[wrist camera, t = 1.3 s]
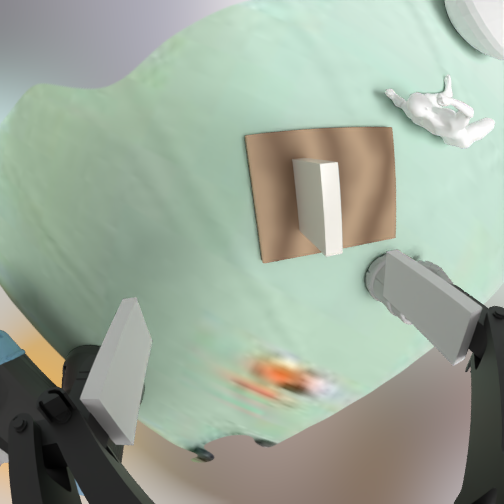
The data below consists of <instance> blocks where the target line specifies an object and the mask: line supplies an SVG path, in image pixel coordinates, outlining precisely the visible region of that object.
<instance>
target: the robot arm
mask: <svg viewBox="0 0 504 504" xmlns="http://www.w3.org/2000/svg"><path fill="white" fill-rule="evenodd" d="M383 296H384V297H385V298H386V299H387V300H388V301H389V302H390V303H391V304H392V305H393V306H394V307H395V308H396V309H397V310H398V311H399V312H400V313H402V314H403V315H404V316H405V317H406V318H407V319H408V320H409V321H410V322H411V323H412V324H413V325H414V326H415V327H416V328H417V329H418V330H419V331H420V332H421V333H422V334H423V335H424V336H425V337H426V338H427V339H428V340H429V341H430V342H431V343H432V344H433V345H434V346H435V347H436V348H437V349H438V350H439V351H440V352H441V353H442V354H443V356H444V357H445V358H446V359H447V360H448V361H449V362H450V363H451V364H452V365H455V364H457V363H459V362H461V361H462V360H464V359H465V356H466V354H467V351H468V349H470V350H471V351H472V352H473V353H472V356H471V358H470V360H469V363H468V365H467V367H466V371H465V372H467V371H468V369H469V367H471V371H470V372H471V386H472V388H471V389H472V395H471V425H470V437H469V447H468V455H467V463H466V469H465V475H464V481H463V485H462V489H461V492H460V494H459V495H458V497H457V498H456V500H455V502H454V504H504V308H502V307H498V306H493V307H490V308H489V309H488V308H487V307H486V306H484V305H483V304H482V303H480V302H479V301H477V300H476V299H475V298H473V297H472V296H469V294H468V293H466V292H464V290H462V289H461V288H459V287H458V286H456V285H453V284H451V283H448V282H446V281H445V280H444V279H442V278H441V277H439V276H438V275H436V274H435V273H433V272H432V271H430V270H429V269H427V268H426V267H424V266H423V265H421V264H420V263H418V262H416V261H415V260H413V259H412V258H410V257H409V256H407V255H406V254H404V253H402V252H401V251H399V250H398V249H396V250H392V251H387V252H386V265H385V278H384V289H383ZM152 342H153V341H152V338H151V336H150V333H149V331H148V328H147V325H146V322H145V320H144V317H143V314H142V311H141V309H140V306H139V303H138V300H137V297H133V298H126V299H122V301H121V304H120V306H119V308H118V310H117V312H116V314H115V316H114V318H113V320H112V322H111V325H110V327H109V329H108V331H107V333H106V336H105V338H104V340H103V342H102V345H101V347H98V346H80V347H77V348H75V349H74V350H72V351H71V352H70V353H69V355H68V357H67V359H66V361H65V362H64V365H63V377H62V388H59V387H57V386H56V385H55V384H54V383H53V382H52V381H51V380H50V379H49V378H48V377H47V376H46V375H45V374H44V373H43V372H42V371H41V370H40V369H39V368H38V367H37V366H36V365H35V364H34V363H33V362H32V361H31V359H30V358H29V357H28V356H27V355H26V354H25V351H24V350H23V349H21V348H20V347H19V346H18V345H17V344H16V343H15V342H14V341H13V340H12V338H11V337H10V336H9V335H8V334H7V333H6V332H4V331H2V330H0V466H1V464H2V463H7V462H9V477H10V488H11V496H12V504H82V503H81V499H80V496H79V495H83V496H85V498H86V499H87V501H88V502H89V504H155V503H154V502H153V501H152V500H151V499H150V498H149V497H148V495H147V494H146V493H145V492H144V491H143V490H142V489H141V487H140V486H139V485H138V484H137V483H136V481H135V480H134V479H133V478H132V477H131V475H130V474H129V473H128V471H127V470H126V469H125V468H124V466H123V465H122V464H121V462H122V455H123V448H124V445H134V438H135V431H136V425H137V418H138V412H139V407H140V404H141V402H142V400H143V395H144V390H145V385H144V380H145V375H146V370H147V365H148V360H149V355H150V351H151V346H152Z"/></svg>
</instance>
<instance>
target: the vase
mask: <svg viewBox="0 0 504 504" xmlns="http://www.w3.org/2000/svg"><path fill="white" fill-rule="evenodd" d="M444 1H445V7H446V11H447V14H448V17H449V19H450V21H451V23H452V24H453V26H454V28H455V29H456V30H457V32H458V33H459V34H460V35H461V36H462V37H463V38H464V39H465V40H466V41H467V42H468V43H469V44H470V45H471V46H473V47H474V48H475V49H477V50H479V51H480V52H482V53H484V54H486V55H488V56H491V57H494V58H496V59H499V60H504V0H444Z"/></svg>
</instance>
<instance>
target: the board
mask: <svg viewBox="0 0 504 504" xmlns="http://www.w3.org/2000/svg"><path fill="white" fill-rule="evenodd" d="M245 143H246V150H247V157H248V164H249V171H250V178H251V185H252V192H253V199H254V207H255V214H256V221H257V228H258V236H259V243H260V251H261V258H262V262H263V263H268V262H274V261H279V260H284V259H290V258H295V257H300V256H306V255H311V254H316V253H321V251H320V250H319V249H318V248H317V247H316V246H315V245H314V244H313V243H312V242H311V241H310V240H309V239H308V238H307V237H306V236H304V235H303V234H302V233H301V232H300V230H299V219H298V208H297V198H296V188H295V179H294V170H293V161H292V159H300V158H312V159H319V160H326V161H333V162H338V169H339V181H340V196H341V215H342V244H343V248H347V247H352V246H357V245H362V244H367V243H372V242H377V241H382V240H387V239H392V238H395V234H396V177H395V157H394V143H393V132H392V127H344V128H320V129H304V130H291V131H281V132H271V133H262V134H253V135H246V136H245Z"/></svg>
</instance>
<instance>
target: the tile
mask: <svg viewBox="0 0 504 504" xmlns="http://www.w3.org/2000/svg"><path fill="white" fill-rule="evenodd" d="M292 161H293V170H294V179H295V188H296V198H297V208H298V219H299V230H300V232H301V233H302V234H303V235H304V236H306V237H307V238H308V239H309V240H310V241H311V242H312V243H313V244H314V245H315V246H316V247H317V248H318V249H319V250H320V251H321V252H322V253H323V254H324V255H325V256H326V257H327V256H332V255H337V254H342V253H343V250H342V249H343V244H342V215H341V196H340V181H339V169H338V162H333V161H326V160H319V159H312V158H300V159H292Z"/></svg>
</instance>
